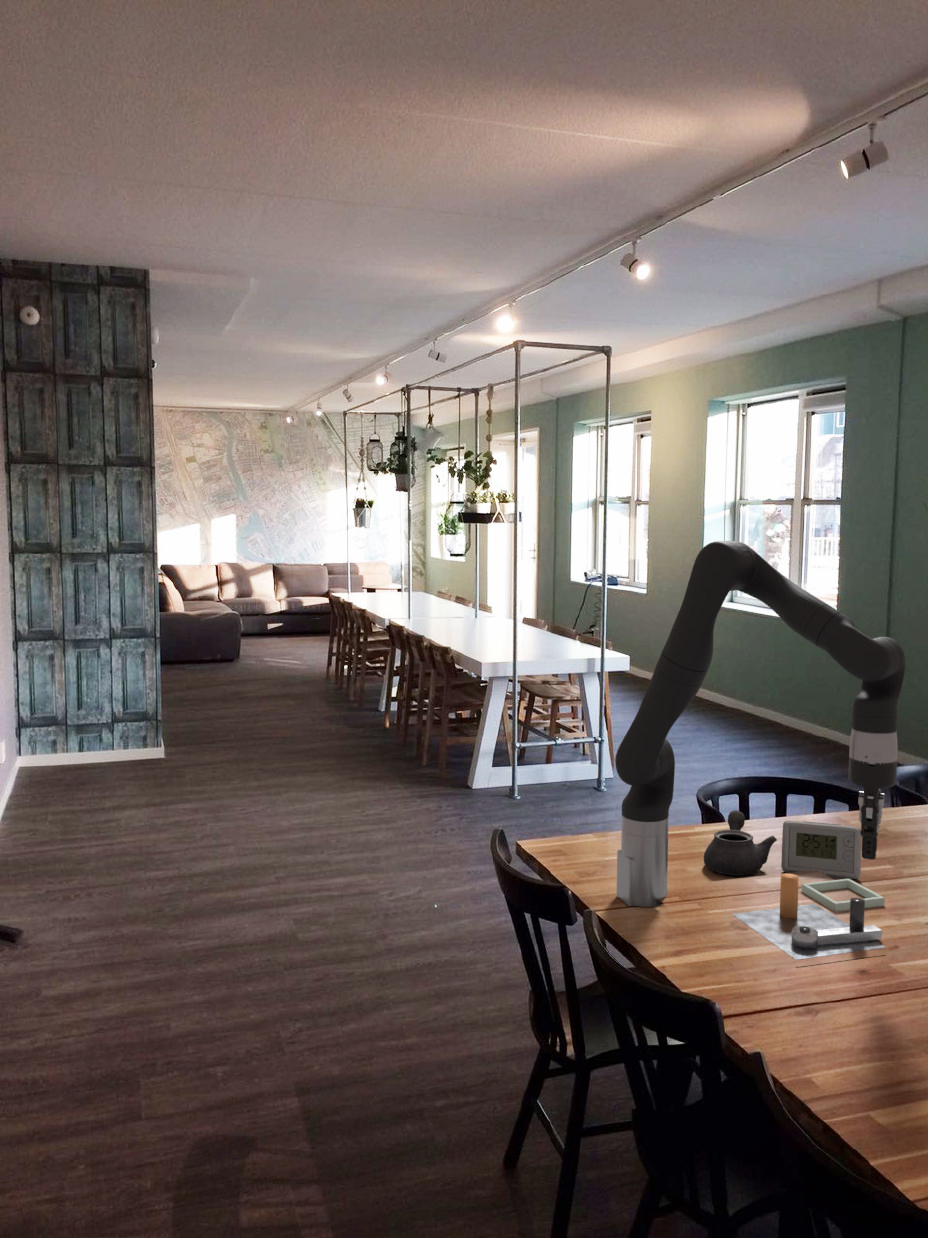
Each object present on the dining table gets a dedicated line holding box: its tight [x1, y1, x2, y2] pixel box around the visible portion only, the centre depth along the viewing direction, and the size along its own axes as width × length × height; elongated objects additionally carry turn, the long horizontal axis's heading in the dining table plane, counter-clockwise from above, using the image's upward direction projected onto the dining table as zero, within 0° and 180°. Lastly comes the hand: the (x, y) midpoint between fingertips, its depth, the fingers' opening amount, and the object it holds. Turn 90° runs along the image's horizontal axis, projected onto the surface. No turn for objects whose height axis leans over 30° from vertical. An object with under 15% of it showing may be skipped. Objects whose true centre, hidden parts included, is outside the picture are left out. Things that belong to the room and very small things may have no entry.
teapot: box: [703, 809, 778, 876], centre depth 227 cm, size 19×15×10 cm
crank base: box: [731, 903, 887, 969], centre depth 188 cm, size 18×21×2 cm
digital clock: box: [780, 820, 862, 880], centre depth 222 cm, size 16×9×11 cm, turn 60°
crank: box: [791, 897, 883, 948], centre depth 183 cm, size 16×4×7 cm, turn 101°
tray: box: [800, 878, 886, 913], centre depth 204 cm, size 11×11×3 cm
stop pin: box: [779, 873, 799, 918], centre depth 195 cm, size 3×3×8 cm
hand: (869, 854), depth 176 cm, fingers open, 3 cm apart
